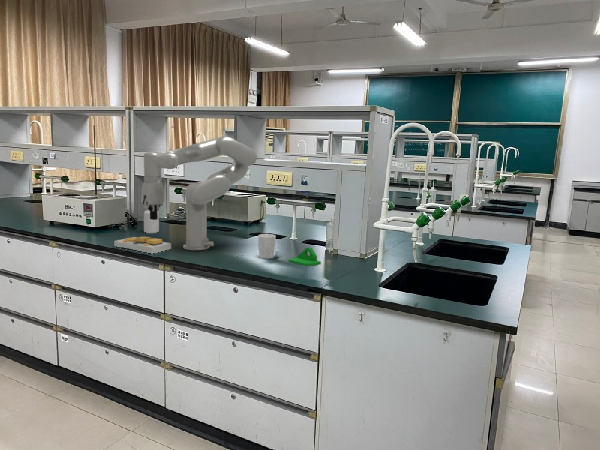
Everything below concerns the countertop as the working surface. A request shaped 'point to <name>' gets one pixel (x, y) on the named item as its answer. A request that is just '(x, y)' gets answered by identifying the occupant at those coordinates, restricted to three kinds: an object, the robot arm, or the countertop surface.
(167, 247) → the white flat piece
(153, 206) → the robot arm
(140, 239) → the key
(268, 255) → the white cup
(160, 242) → the key
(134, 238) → the key
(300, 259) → the bracket
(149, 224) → the pill bottle
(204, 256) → the countertop surface
